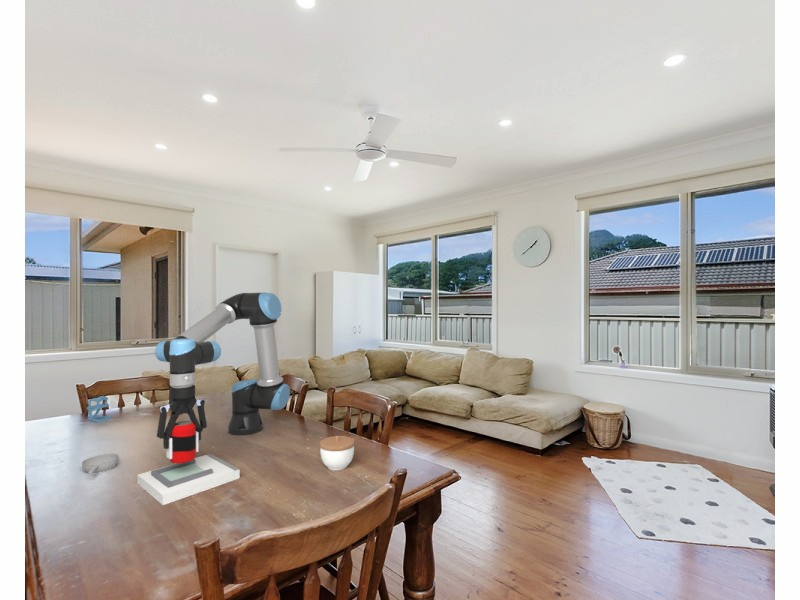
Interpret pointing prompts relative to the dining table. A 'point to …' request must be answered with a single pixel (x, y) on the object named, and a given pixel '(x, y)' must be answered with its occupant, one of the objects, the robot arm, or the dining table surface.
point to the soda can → (183, 442)
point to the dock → (187, 478)
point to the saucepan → (100, 463)
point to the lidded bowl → (337, 451)
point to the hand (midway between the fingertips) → (182, 454)
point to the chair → (97, 409)
